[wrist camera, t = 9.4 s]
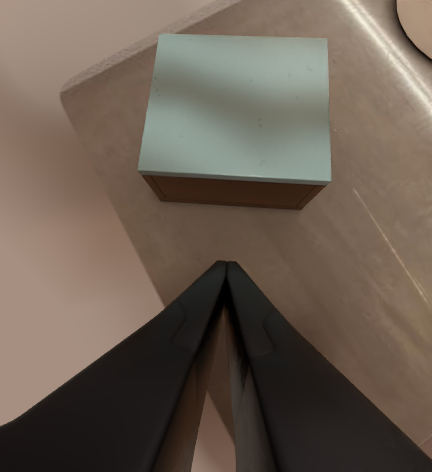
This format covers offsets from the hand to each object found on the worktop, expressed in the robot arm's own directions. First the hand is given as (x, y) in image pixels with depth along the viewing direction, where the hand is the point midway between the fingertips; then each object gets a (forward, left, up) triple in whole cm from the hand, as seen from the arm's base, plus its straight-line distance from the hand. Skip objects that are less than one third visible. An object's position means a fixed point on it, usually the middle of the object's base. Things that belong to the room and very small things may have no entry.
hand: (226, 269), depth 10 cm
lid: (+9, +10, -7) cm, 15 cm away
